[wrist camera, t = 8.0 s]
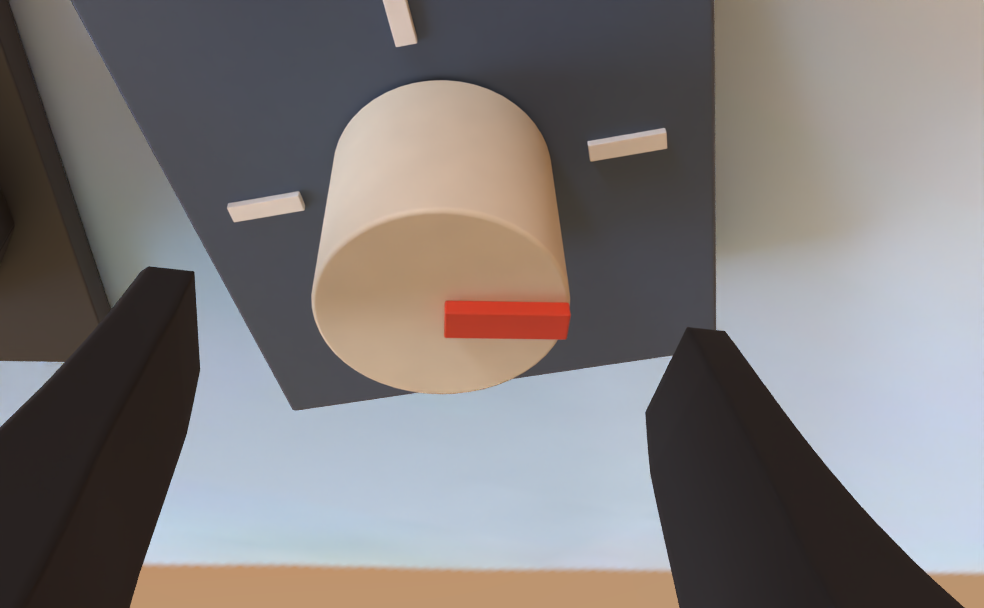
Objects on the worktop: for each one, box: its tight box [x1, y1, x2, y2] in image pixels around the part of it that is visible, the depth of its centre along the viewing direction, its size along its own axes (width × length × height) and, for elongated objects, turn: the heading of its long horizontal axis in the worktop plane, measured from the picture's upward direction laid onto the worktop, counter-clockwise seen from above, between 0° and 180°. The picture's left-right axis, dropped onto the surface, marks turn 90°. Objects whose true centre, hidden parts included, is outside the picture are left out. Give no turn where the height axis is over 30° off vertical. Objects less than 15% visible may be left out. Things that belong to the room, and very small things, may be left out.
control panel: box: [71, 0, 716, 410], centre depth 17 cm, size 12×10×3 cm
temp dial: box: [311, 80, 571, 394], centre depth 15 cm, size 4×4×4 cm
